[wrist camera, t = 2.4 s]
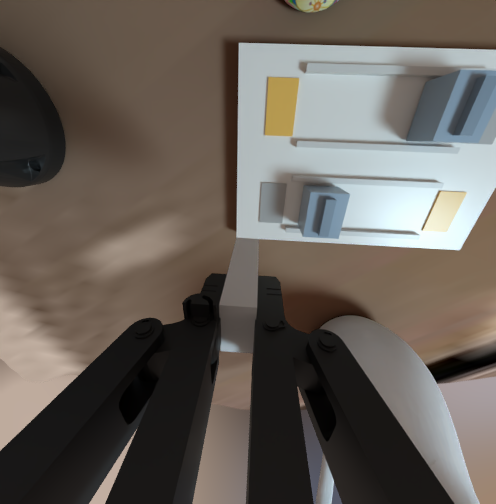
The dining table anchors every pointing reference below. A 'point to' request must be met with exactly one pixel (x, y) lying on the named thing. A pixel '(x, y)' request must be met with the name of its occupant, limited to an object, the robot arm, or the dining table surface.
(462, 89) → the tab
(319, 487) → the pitcher
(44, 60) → the dining table surface
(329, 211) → the tab
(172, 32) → the dining table surface
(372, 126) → the switch board
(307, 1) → the mug
